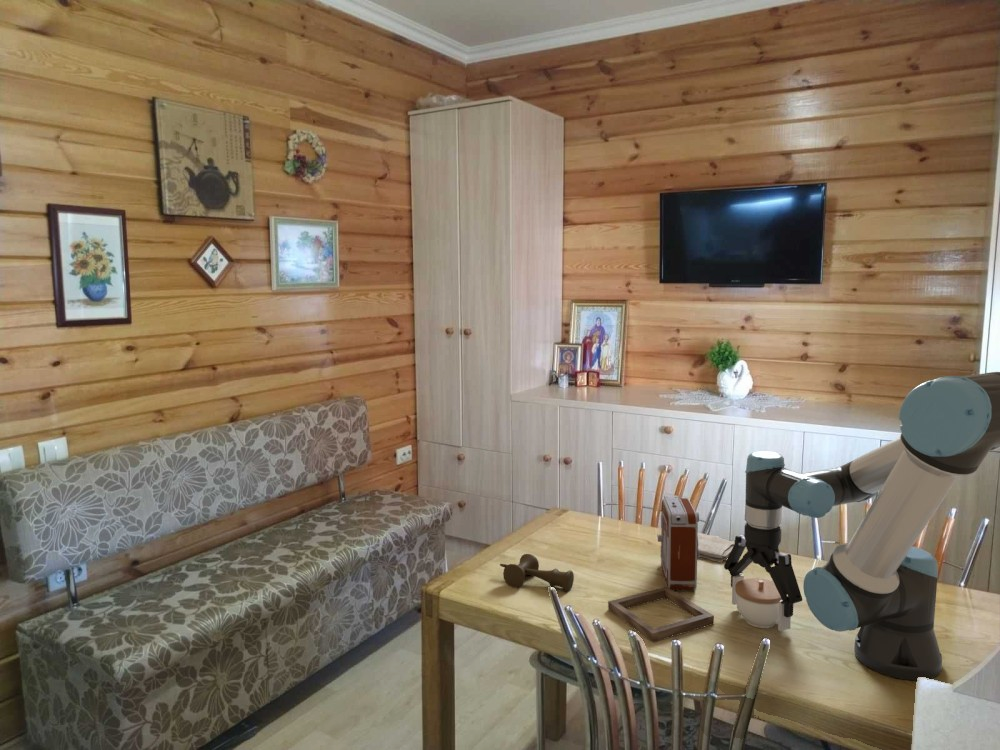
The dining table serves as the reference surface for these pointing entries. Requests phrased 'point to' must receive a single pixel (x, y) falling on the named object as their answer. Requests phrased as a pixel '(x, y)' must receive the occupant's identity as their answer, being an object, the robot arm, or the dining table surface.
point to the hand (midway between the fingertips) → (759, 615)
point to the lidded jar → (758, 601)
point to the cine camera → (679, 543)
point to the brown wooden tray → (662, 632)
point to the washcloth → (714, 547)
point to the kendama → (535, 573)
